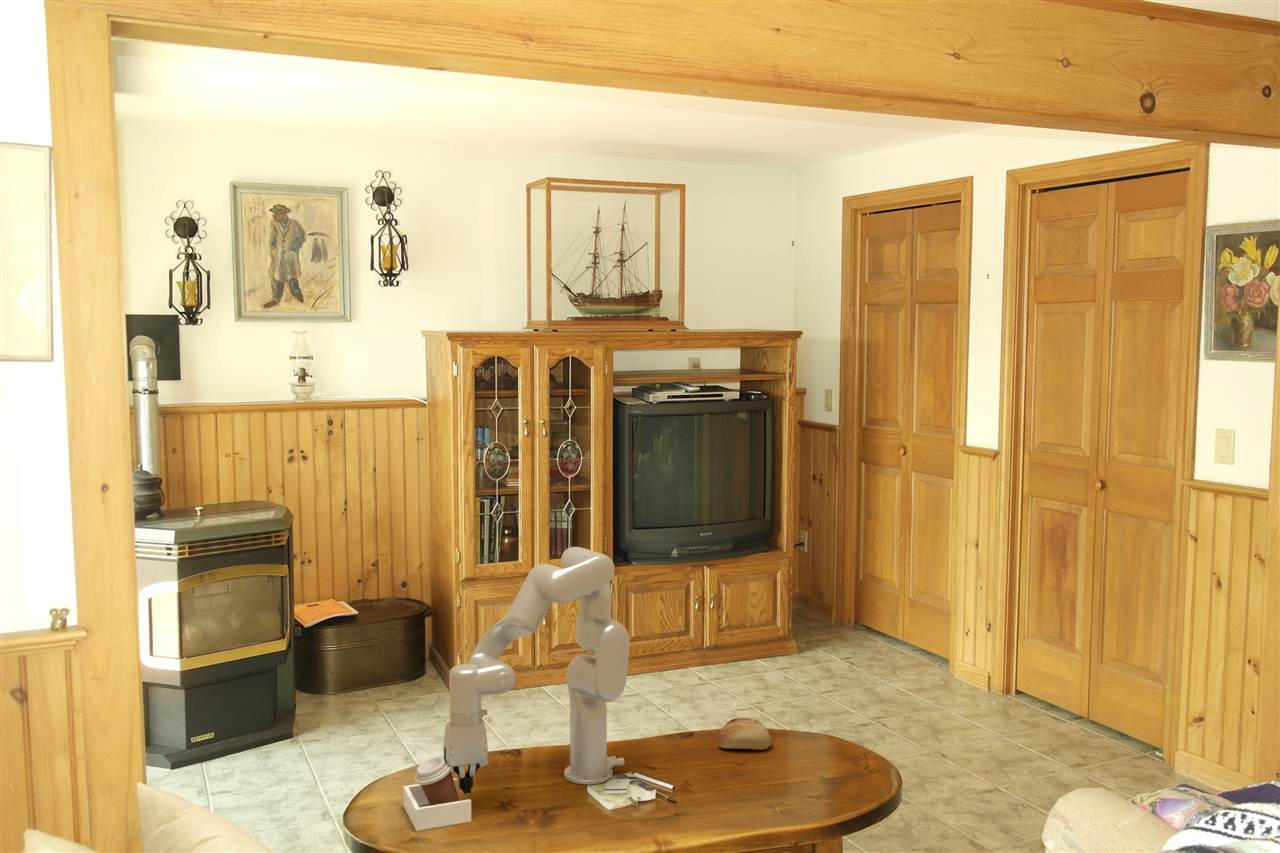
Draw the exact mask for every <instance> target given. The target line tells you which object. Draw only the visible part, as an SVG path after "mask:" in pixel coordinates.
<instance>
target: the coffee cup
mask: <svg viewBox="0 0 1280 853" xmlns="http://www.w3.org/2000/svg"><path fill="white" fill-rule="evenodd" d="M451 770H452V767H451V766H448V764H447V763H446V761H445V759H444V758H443V756H433V757H431V758H428V759H427V760H426V759H425V760H424V761H422V762H421V763H420V764H419V765H418V766H417V768H416V774H415V777H414V782H415V783H416V784H419V785H421V787H422V789H423V791H424V793H425V795H426V797H427V799H428V801H429V803H430V804H429V806H432V805H438V804H444V803H450V802H456V801H460V799H459V795H458V790H457V791H456V787H455V784H454V780H453V779H454V776H453V774H452V772H451Z"/></svg>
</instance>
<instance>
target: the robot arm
mask: <svg viewBox="0 0 1280 853" xmlns="http://www.w3.org/2000/svg"><path fill="white" fill-rule="evenodd" d="M560 563H561V567H559V566H557V565H556V566H555V565H552V564H548V563H539V564H536V565H535V566H533V567H532V568H531V569H530V571H529V572H528V574H527V576H526V577H525V580H524V582H523V584H522V585H521V587H520V589H519V591H518V593H517V594H516V596H515V598H514V600H513V602H512V604H511V606H510V607H509V609H508V610H507V613H506V614H505V615H504V616H503V617H502V618H501V619H500V620H498V621H497V622H496V623H495V624H493V625H492V626H491V627H490V628H489V629H488V630H487V631H486V632H485V633H484V634H483V636H482V637H481V638H480V639H479V641H478V643H477V644H476V646H475V648H474V650H473V652H472V654H471V656H470V658H469V661H468V663H461V664H458V665H455V666H453V667H451V669H450V671H449V675H448V676H449V677H448V678H449V721H447V722H446V724H445V728H444V729H445V730H444V735H443V745H442V746H443V748H442V755H443V756H442V757H443V758H444V759H445V761H446V763H447V764H448V766H451V767H452V770H451V773H452V772H454V773H455V774H457V775H458V779H459V780H458V781H459V782H458V783H459V784H458V785H459V789H460V790H461V791H462V792H463V794H464V795H466V794H471V793H472V789H473V788H474V777H475V774H476V773H477V771H478V770H479V769H481V768H482V767H484V766H487V765H488V764H489V760H488V757H489V747H488V746H489V745H488V736H487V730H486V729H487V728H486V725H485V724H486V723H485V721H484V719H483V717H485V716H488V710H487V709H483V708H482V696H483V695H484V696H485V695H486V696H487V695H488V696H489V695H501V694H505V693H507V692H509V691H510V690H511V689H512V688H513V686H514V685H515V683H516V672H515V671H514V669H513V667H512V666H510V665H509V664H507V663H505V662H504V661H502V660H500V658H501V656H502V655H503V652H504V651H505V649H507V647H508V646H510V644H512V643H513V642H515V641H516V640H519V639H520V638H521V639H522V638H524V637H526V636H530V635H531V634H534V633H536V632H537V631H538V629H539V628H540V625H541V624H542V621H543V620H544V618H545V616H546V615H547V612H548V610H549V608H550V607H551V605H552V603H555V604H561V605H562V604H568V603H571V602H573V601H575V600H577V601H578V603H577V604H578V606H577V607H578V608H577V617H576V624H575V626H576V627H575V640H576V643H577V645H578V646H579V647H580V648H582V649H583V650H584V651H588V652H589V653H592V654H595V656H594V655H592V654H579V655H577V656H575V657H574V658H573V659H571V661H570V662H569V663H568V666H567V669H566V684H567V689H568V696H569V697H568V698H569V742H570V743H569V748H570V749H569V756H570V757H569V765H568V766H567V767H565V769H564V771H563V776H564V778H565V780H567V781H569V782H570V783H573V784H577V785H578V784H579V785H596V784H603V783H605V782H607V781H609V780H610V779H611V778H612V777H613V776H614V775H613V772H614V770H613V768H614V767H619V766H620V767H621V766H625V759H624V757H618V758H617V756H616V755H612V756H608V755H607V752H608V751H607V748H608V747H607V746H608V745H607V742H608V741H607V738H608V735H607V733H608V732H607V731H608V728H607V727H608V726H607V725H608V724H607V723H608V721H607V720H608V718H607V717H608V711H607V710H608V708H607V703H612V702H614V701H616V700H618V699H619V698H620V697H621V696H622V694H623V692H624V690H625V687H626V683H627V677H628V667H629V659H630V658H629V657H630V646H631V644H630V643H631V642H630V636H629V632H628V630H627V628H626V627H625V626H624V625H623V624H622V623H620V622H619V621H616V620H614V619H612V614H611V613H612V590H611V589H612V588H611V586H610V582H611V581H612V579H613V578H614V575H615V564H614V562H613V560H612V558H610V557H609V556H608V555H606V554H604V553H602V552H599V551H595V550H591V549H588V548H584V547H581V546H570V547H568V548H566V549H565V550H564V551H563V552H562V555H561V558H560ZM465 766H467V769H466V772H465ZM609 778H610V779H609ZM608 779H609V780H608ZM606 780H607V781H606Z"/></svg>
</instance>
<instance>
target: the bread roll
mask: <svg viewBox="0 0 1280 853" xmlns="http://www.w3.org/2000/svg"><path fill="white" fill-rule="evenodd" d="M716 739H717V744H718V746H719V747H720V748H722V749H735V750H737V749H738V750H762V751H763V750H768V748H769V747H770V746H771V744H772V738H771V735H770V733H769V731H768V729H767V728H766V726H765V725H764V724H763V723H762V722H761V721H759V720H757V719H755V718H751V717H750V718H749V717H738V718H737V717H736V718H732V719H730V720H729V721H727V722H726V724H725V725H724V726H723V727H722V728H721V729H720V732H719V734H718V736H717V738H716Z"/></svg>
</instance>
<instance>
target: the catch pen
mask: <svg viewBox="0 0 1280 853" xmlns="http://www.w3.org/2000/svg"><path fill="white" fill-rule="evenodd" d="M453 780H454V784H455V787H456V791H457V792H458V779H457V777H456V778H454V777H453ZM424 805H427V806H424ZM420 806H421V807H420ZM403 808H404V811H405V812H406V814H407V816H408V818H409V820H410V822H411V824H412V825H413V828H414V829H415V831H416V832H417V831H424V830H429V829H435V828H442V827H447V826H453V825H458V824H465V823H469V822H472V800H471V799H464V800H463V799H462V800H459V801H456V802H450V803H444V804H438V805H432V806H431V805H430V803H429V801H428V799H427V797H426V795H425V793H424V791H423V789H422V787H421V785H419V784H417V783H416V784H410V785H405V786H404V785H403Z"/></svg>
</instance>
